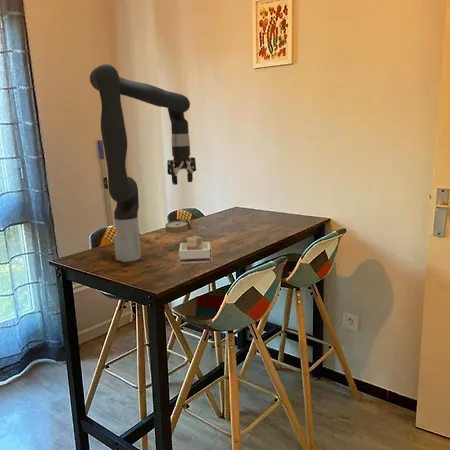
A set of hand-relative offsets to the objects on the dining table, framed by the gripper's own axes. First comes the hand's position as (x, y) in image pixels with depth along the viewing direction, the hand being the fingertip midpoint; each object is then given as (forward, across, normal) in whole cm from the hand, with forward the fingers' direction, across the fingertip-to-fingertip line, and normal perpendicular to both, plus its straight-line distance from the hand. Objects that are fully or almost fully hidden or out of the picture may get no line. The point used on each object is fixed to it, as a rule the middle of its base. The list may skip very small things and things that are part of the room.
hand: (182, 183), depth 200 cm
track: (+28, -5, -11) cm, 31 cm away
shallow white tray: (+28, -8, -14) cm, 33 cm away
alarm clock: (+29, +20, +26) cm, 44 cm away
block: (+26, -8, -14) cm, 31 cm away
